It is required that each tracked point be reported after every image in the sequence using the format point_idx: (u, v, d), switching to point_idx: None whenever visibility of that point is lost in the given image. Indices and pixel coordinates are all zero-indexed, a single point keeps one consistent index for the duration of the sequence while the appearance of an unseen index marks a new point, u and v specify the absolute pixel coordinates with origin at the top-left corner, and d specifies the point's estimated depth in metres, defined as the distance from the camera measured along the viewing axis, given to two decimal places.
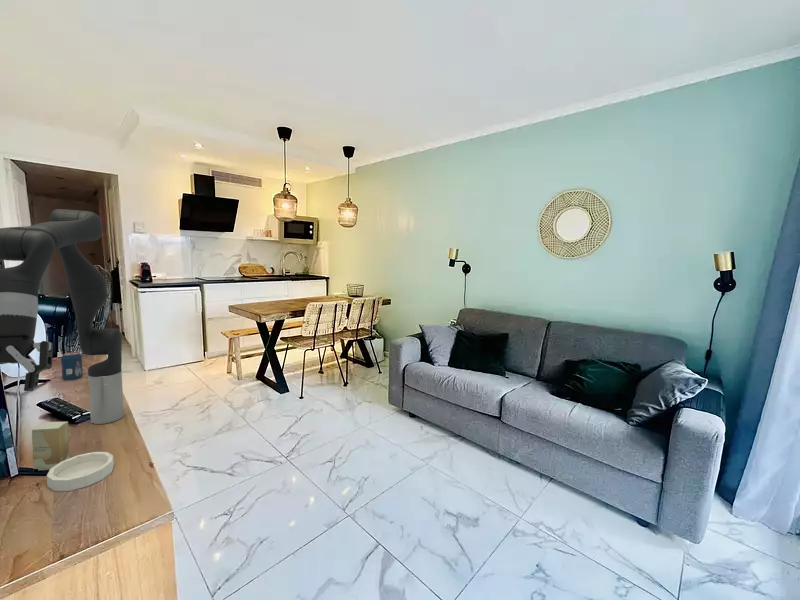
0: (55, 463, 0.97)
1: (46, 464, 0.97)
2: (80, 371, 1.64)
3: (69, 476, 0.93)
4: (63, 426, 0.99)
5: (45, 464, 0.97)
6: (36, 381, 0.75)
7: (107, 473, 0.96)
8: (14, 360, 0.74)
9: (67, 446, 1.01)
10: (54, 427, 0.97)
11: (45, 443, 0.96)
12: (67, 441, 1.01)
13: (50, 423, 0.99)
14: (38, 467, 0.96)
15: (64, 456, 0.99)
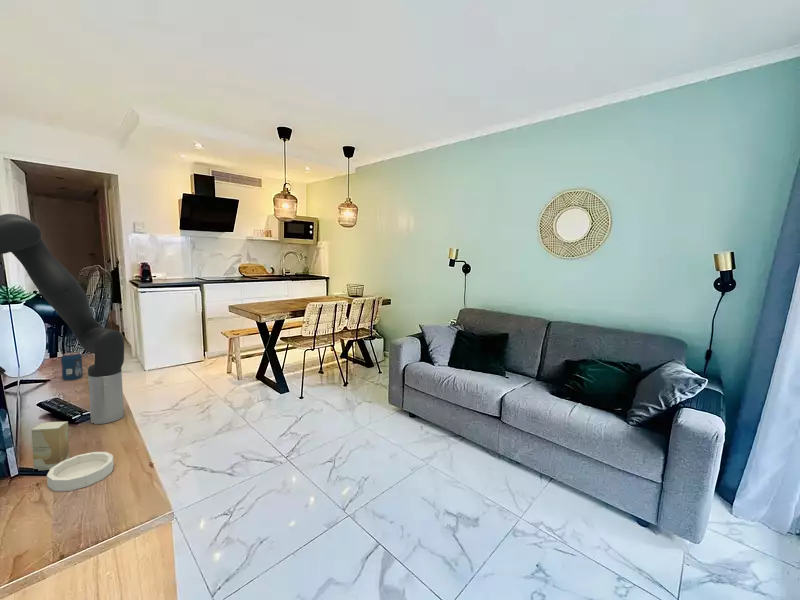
0: (55, 463, 0.97)
1: (46, 464, 0.97)
2: (80, 371, 1.64)
3: (69, 476, 0.93)
4: (63, 426, 0.99)
5: (45, 464, 0.97)
6: None
7: (107, 473, 0.96)
8: None
9: (67, 446, 1.01)
10: (54, 427, 0.97)
11: (45, 443, 0.96)
12: (67, 441, 1.01)
13: (50, 423, 0.99)
14: (38, 467, 0.96)
15: (64, 456, 0.99)
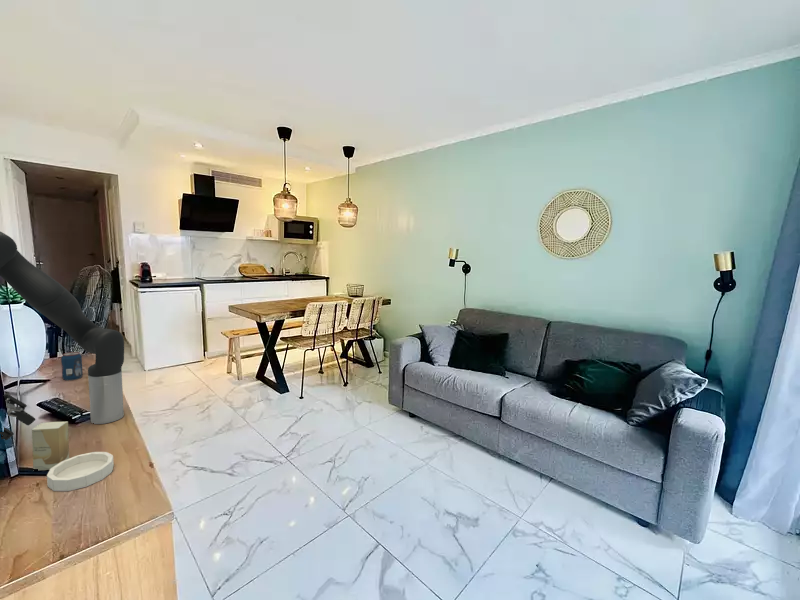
0: (55, 463, 0.97)
1: (46, 464, 0.97)
2: (80, 371, 1.64)
3: (69, 476, 0.93)
4: (63, 426, 0.99)
5: (45, 464, 0.97)
6: None
7: (107, 473, 0.96)
8: None
9: (67, 446, 1.01)
10: (54, 427, 0.97)
11: (45, 443, 0.96)
12: (67, 441, 1.01)
13: (50, 423, 0.99)
14: (38, 467, 0.96)
15: (64, 456, 0.99)
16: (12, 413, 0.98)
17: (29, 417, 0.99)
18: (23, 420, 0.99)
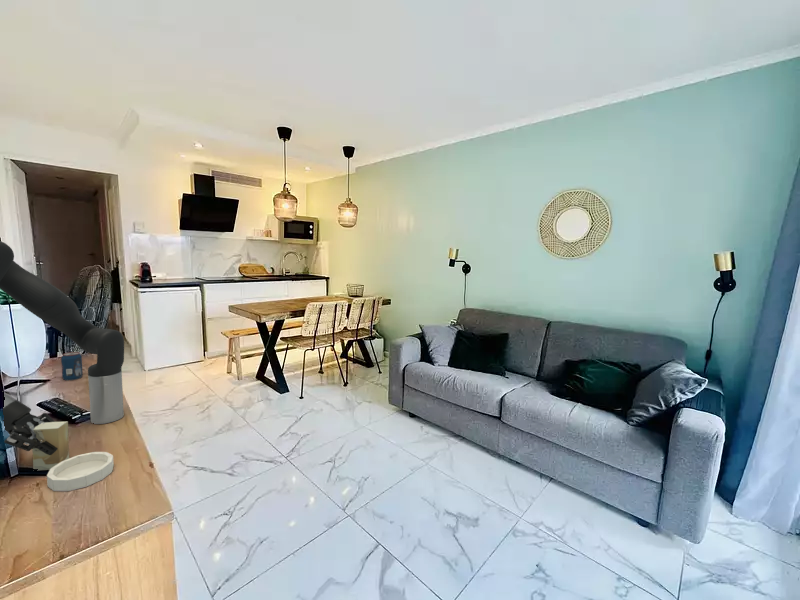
0: (55, 463, 0.97)
1: (46, 464, 0.97)
2: (80, 371, 1.64)
3: (69, 476, 0.93)
4: (63, 426, 0.99)
5: (45, 464, 0.97)
6: (45, 450, 0.95)
7: (107, 473, 0.96)
8: None
9: (67, 446, 1.01)
10: (54, 427, 0.97)
11: None
12: (67, 441, 1.01)
13: (50, 423, 0.99)
14: (38, 467, 0.96)
15: (64, 456, 0.99)
16: None
17: None
18: None
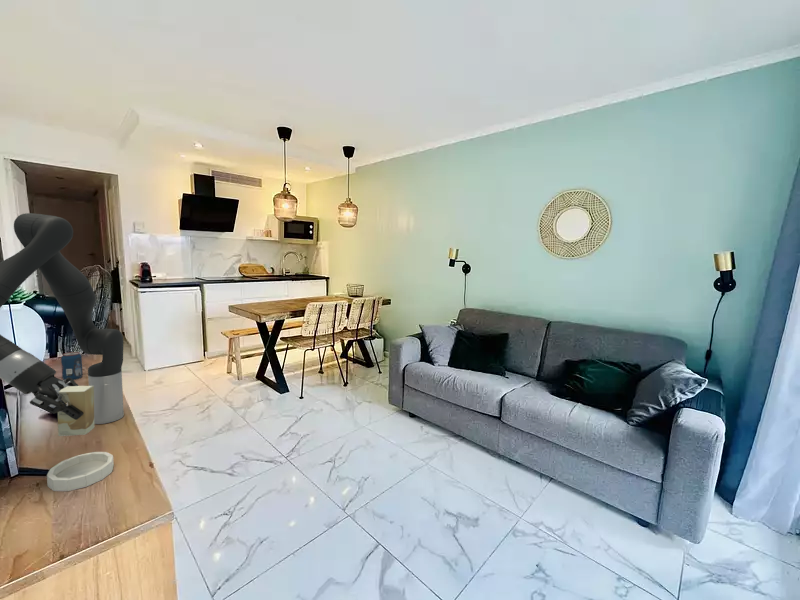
0: (81, 428, 0.92)
1: (72, 429, 0.92)
2: (80, 371, 1.64)
3: (69, 476, 0.93)
4: (89, 390, 0.93)
5: (70, 429, 0.92)
6: (71, 413, 0.90)
7: (107, 473, 0.96)
8: None
9: (93, 412, 0.96)
10: (80, 390, 0.92)
11: None
12: (93, 406, 0.95)
13: (75, 387, 0.93)
14: (63, 432, 0.91)
15: (89, 421, 0.94)
16: None
17: None
18: None
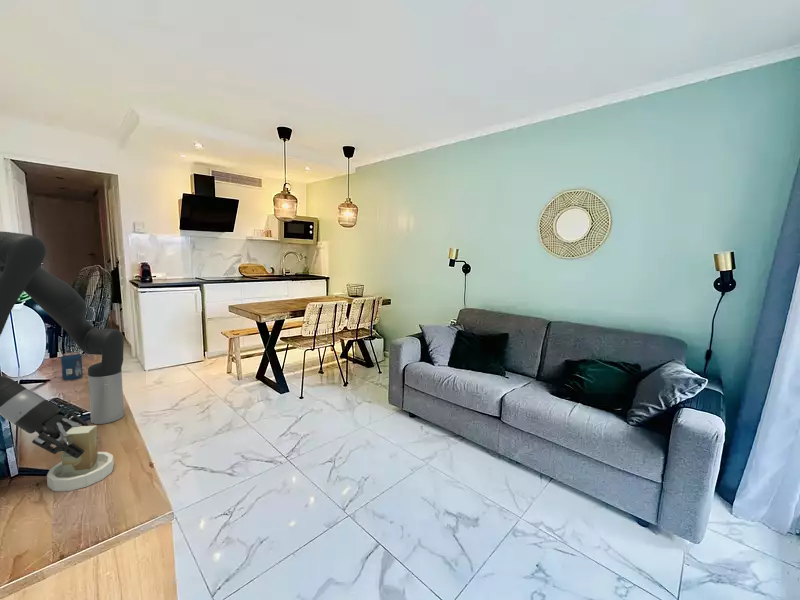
0: (85, 469, 0.94)
1: (76, 470, 0.93)
2: (80, 371, 1.64)
3: None
4: (92, 430, 0.95)
5: (74, 470, 0.93)
6: (72, 452, 0.90)
7: (107, 473, 0.96)
8: None
9: (96, 451, 0.97)
10: (84, 431, 0.93)
11: None
12: (96, 446, 0.97)
13: (79, 427, 0.95)
14: (67, 473, 0.93)
15: (93, 461, 0.96)
16: None
17: None
18: None
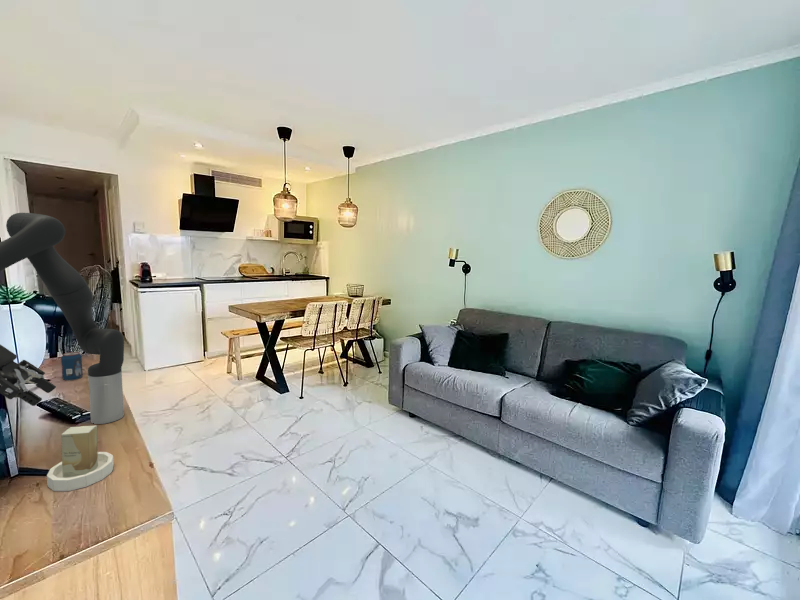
0: (85, 469, 0.94)
1: (76, 470, 0.93)
2: (80, 371, 1.64)
3: None
4: (93, 430, 0.95)
5: (74, 470, 0.93)
6: (29, 399, 0.87)
7: (107, 473, 0.96)
8: None
9: (96, 451, 0.97)
10: (84, 431, 0.93)
11: (75, 448, 0.93)
12: (96, 446, 0.97)
13: (79, 427, 0.95)
14: (67, 473, 0.93)
15: (93, 461, 0.96)
16: (31, 380, 0.94)
17: (50, 384, 0.96)
18: (43, 387, 0.95)
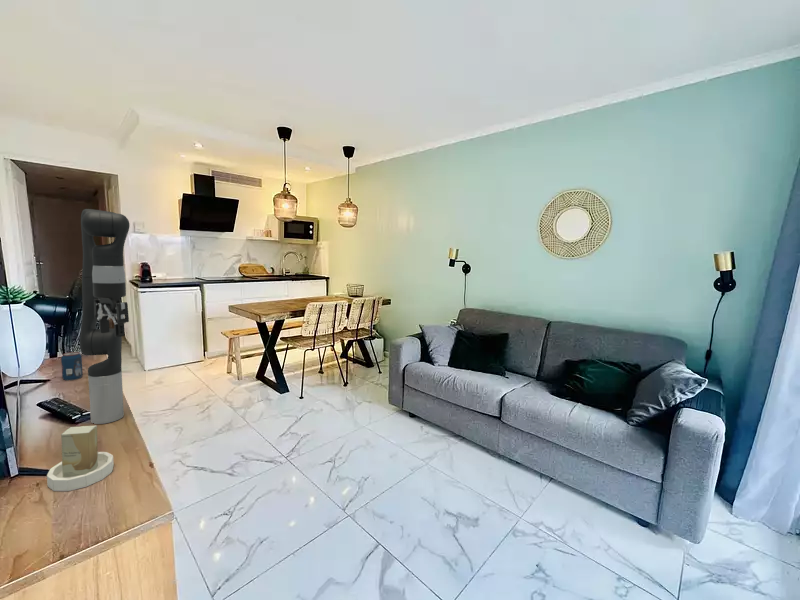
0: (85, 469, 0.94)
1: (76, 470, 0.93)
2: (80, 371, 1.64)
3: None
4: (93, 430, 0.95)
5: (74, 470, 0.93)
6: (121, 330, 1.03)
7: (107, 473, 0.96)
8: None
9: (96, 451, 0.97)
10: (84, 431, 0.93)
11: (75, 448, 0.93)
12: (96, 446, 0.97)
13: (79, 427, 0.95)
14: (67, 473, 0.93)
15: (93, 461, 0.96)
16: None
17: (108, 327, 1.08)
18: (102, 327, 1.07)
